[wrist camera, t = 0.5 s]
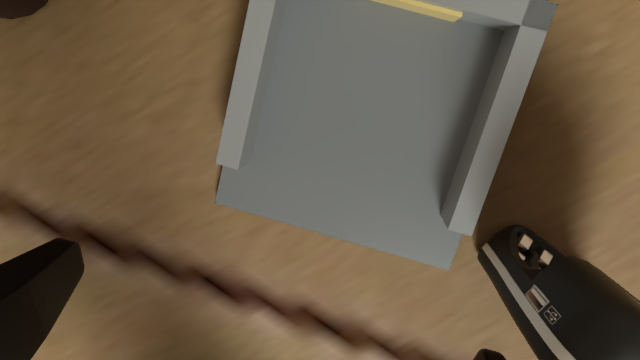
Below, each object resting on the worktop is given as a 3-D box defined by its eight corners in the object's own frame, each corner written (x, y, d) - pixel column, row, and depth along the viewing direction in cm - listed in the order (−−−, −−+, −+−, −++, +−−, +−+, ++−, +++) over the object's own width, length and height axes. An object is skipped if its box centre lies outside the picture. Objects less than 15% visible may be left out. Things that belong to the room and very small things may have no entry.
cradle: (446, 266, 26) (457, 290, 23) (218, 200, 26) (198, 215, 23) (551, -22, 22) (581, -38, 19) (280, -92, 22) (267, -118, 19)
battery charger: (612, 276, 25) (809, 436, 14) (563, 323, 26) (711, 508, 15) (516, 202, 24) (639, 303, 13) (469, 252, 25) (548, 386, 14)
